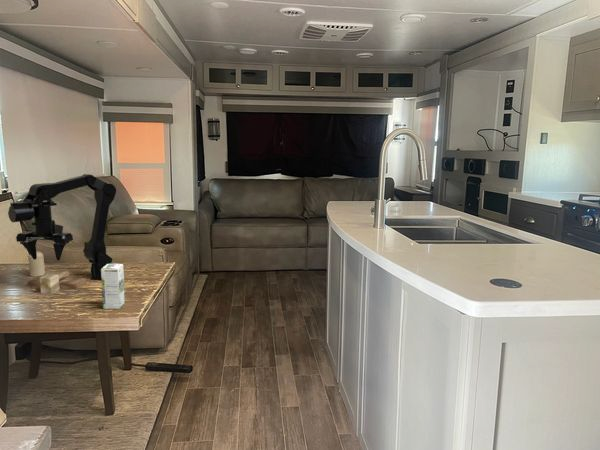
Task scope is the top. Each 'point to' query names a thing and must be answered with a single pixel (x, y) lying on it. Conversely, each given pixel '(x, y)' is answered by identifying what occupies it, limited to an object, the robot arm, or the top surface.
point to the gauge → (51, 282)
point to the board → (60, 282)
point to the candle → (36, 265)
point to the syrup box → (113, 286)
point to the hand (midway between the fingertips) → (46, 259)
